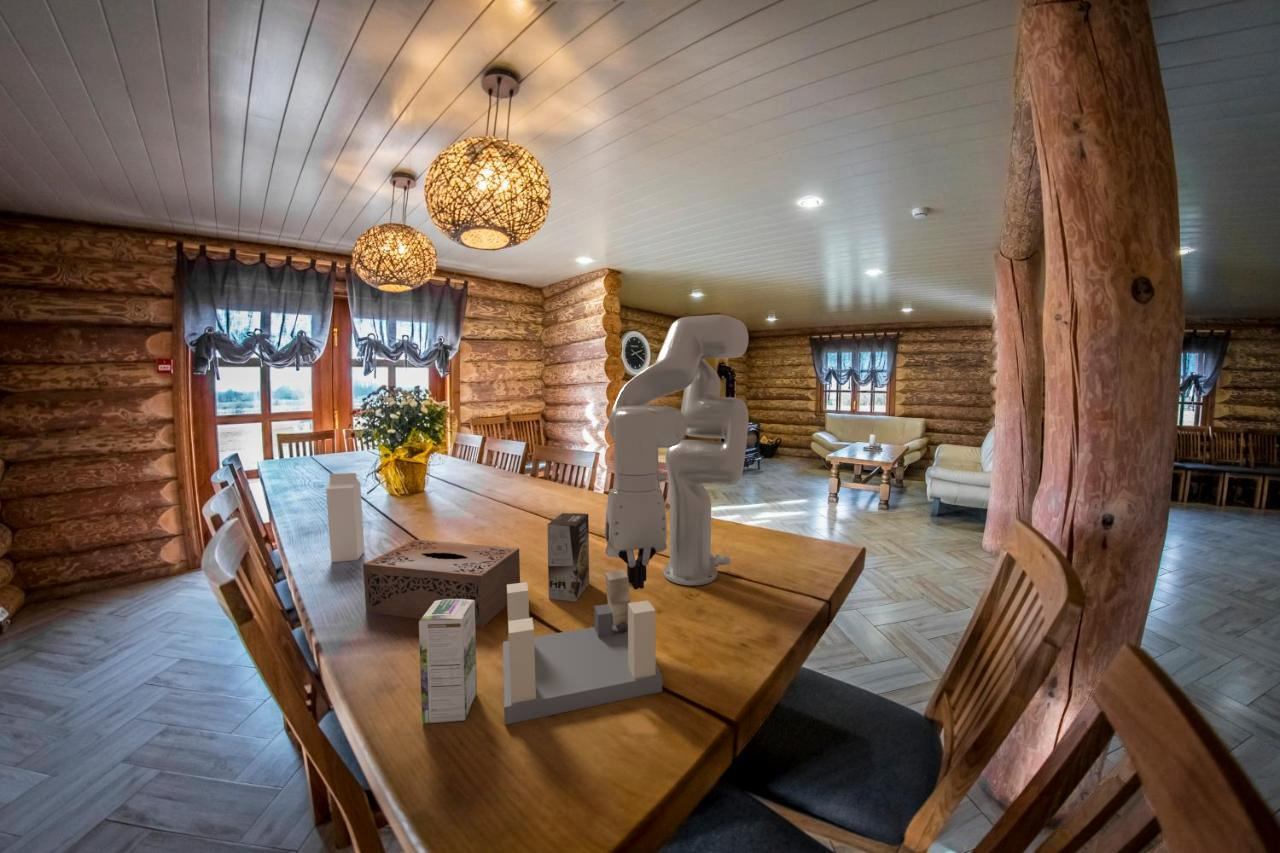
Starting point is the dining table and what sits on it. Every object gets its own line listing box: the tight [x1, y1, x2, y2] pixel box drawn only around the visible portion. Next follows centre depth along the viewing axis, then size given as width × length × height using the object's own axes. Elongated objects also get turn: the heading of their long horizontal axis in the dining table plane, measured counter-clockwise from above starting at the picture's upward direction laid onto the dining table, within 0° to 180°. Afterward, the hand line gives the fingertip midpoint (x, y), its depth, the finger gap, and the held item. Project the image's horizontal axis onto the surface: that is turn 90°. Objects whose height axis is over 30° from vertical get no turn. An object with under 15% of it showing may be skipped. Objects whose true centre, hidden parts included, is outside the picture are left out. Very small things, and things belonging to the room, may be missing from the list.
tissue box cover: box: [362, 539, 521, 628], centre depth 95 cm, size 26×14×10 cm, turn 77°
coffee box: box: [547, 512, 590, 603], centre depth 99 cm, size 9×6×16 cm
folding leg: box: [604, 569, 631, 633], centre depth 79 cm, size 3×4×10 cm
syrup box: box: [418, 599, 478, 724], centre depth 63 cm, size 6×6×14 cm
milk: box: [325, 472, 366, 563], centre depth 118 cm, size 6×6×22 cm
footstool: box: [502, 581, 663, 726], centre depth 71 cm, size 22×16×12 cm
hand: (636, 585), depth 80 cm, fingers closed
